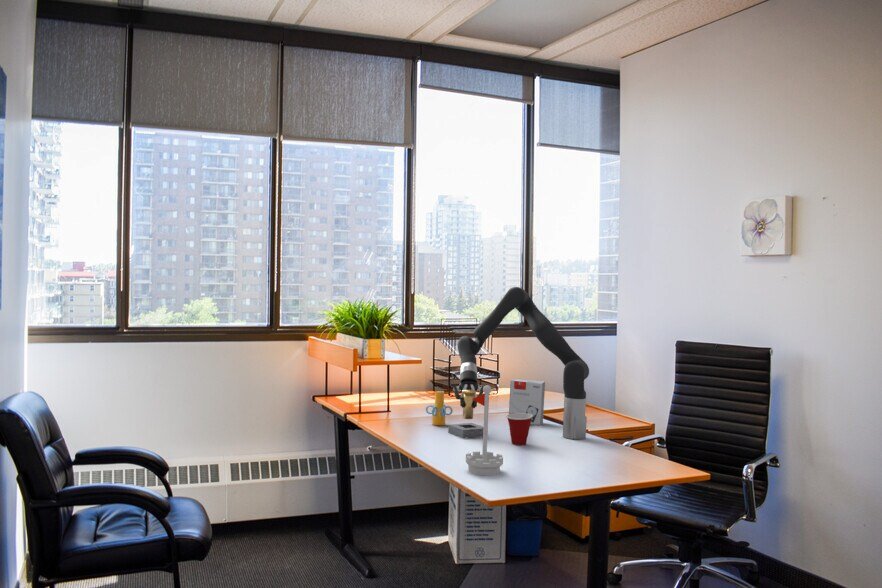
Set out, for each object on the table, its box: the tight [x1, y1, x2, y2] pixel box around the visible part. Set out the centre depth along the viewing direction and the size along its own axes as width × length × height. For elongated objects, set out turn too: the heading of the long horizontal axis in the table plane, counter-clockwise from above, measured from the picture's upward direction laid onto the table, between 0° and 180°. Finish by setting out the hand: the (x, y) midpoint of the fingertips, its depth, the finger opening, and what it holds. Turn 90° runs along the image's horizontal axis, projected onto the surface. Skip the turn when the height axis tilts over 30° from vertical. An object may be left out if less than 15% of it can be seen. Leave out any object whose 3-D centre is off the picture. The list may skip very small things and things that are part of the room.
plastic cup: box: [505, 413, 533, 446], centre depth 301 cm, size 11×11×12 cm
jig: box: [447, 422, 484, 439], centre depth 316 cm, size 12×12×4 cm
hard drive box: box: [508, 378, 546, 426], centre depth 348 cm, size 16×8×20 cm, turn 71°
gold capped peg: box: [461, 389, 477, 420], centre depth 316 cm, size 6×6×12 cm
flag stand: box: [465, 384, 504, 476], centre depth 256 cm, size 13×13×30 cm
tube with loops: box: [425, 390, 453, 426], centre depth 335 cm, size 12×10×15 cm
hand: (468, 406), depth 314 cm, fingers closed on gold capped peg, 4 cm apart
